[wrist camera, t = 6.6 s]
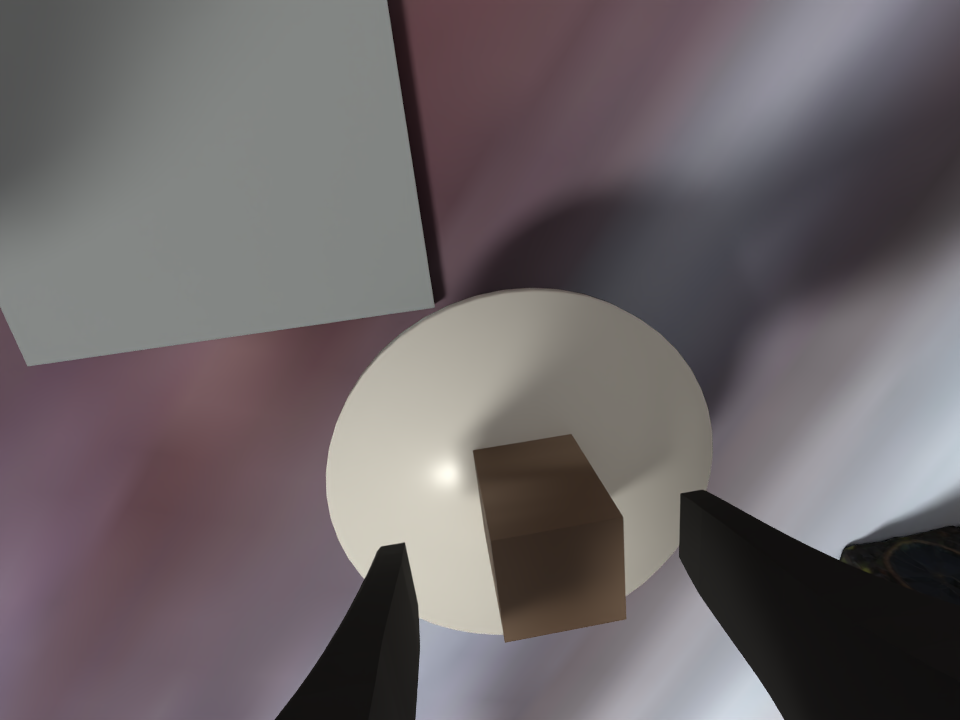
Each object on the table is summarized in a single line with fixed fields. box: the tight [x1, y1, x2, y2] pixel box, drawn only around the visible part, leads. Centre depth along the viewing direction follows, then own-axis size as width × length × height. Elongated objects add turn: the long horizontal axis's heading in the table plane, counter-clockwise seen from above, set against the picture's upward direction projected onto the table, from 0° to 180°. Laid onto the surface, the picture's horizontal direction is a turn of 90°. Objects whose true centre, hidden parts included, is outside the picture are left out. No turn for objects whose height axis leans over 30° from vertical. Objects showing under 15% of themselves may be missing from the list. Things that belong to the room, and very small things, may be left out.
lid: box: [326, 288, 713, 643], centre depth 13 cm, size 12×12×5 cm
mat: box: [0, 0, 435, 366], centre depth 15 cm, size 14×14×1 cm
